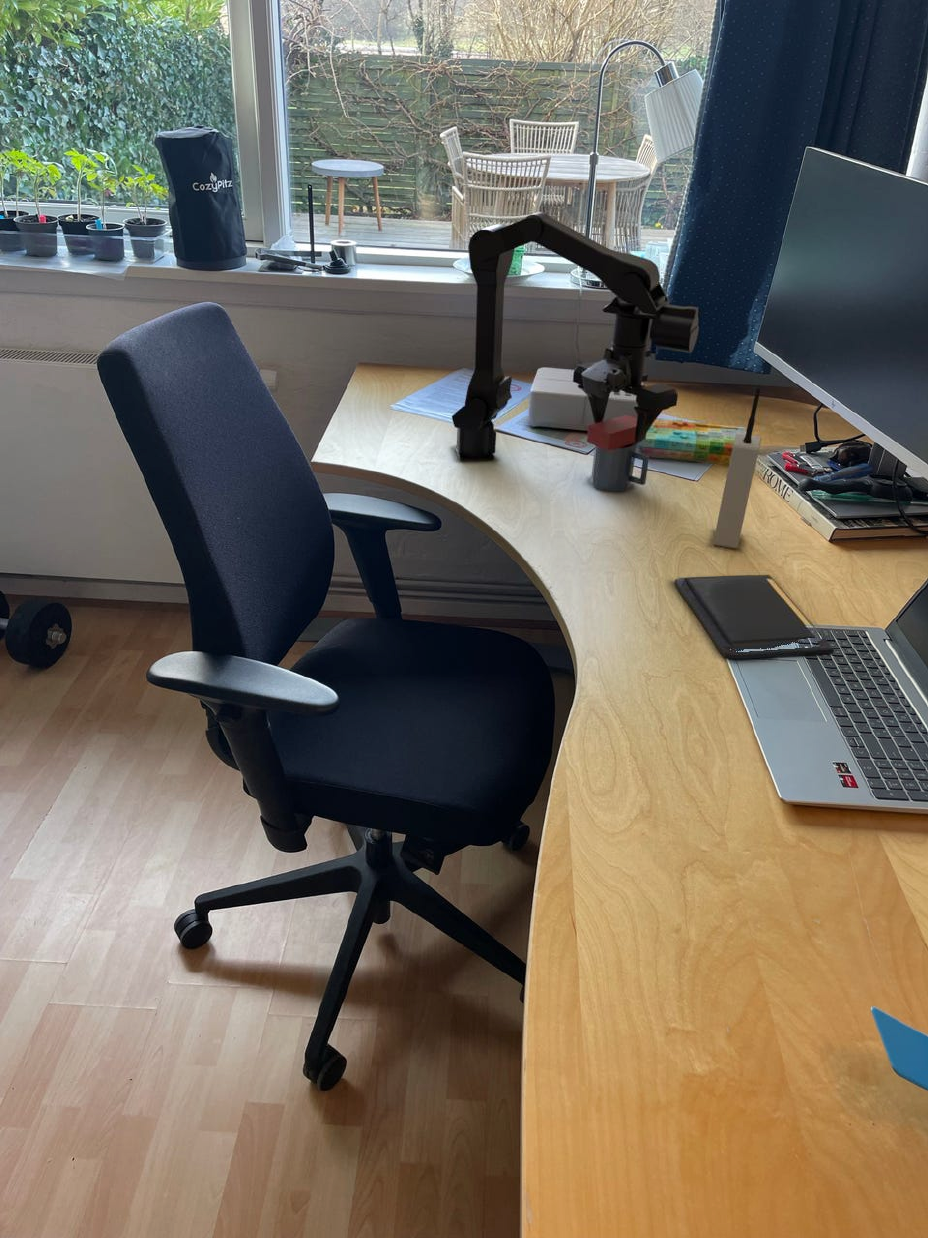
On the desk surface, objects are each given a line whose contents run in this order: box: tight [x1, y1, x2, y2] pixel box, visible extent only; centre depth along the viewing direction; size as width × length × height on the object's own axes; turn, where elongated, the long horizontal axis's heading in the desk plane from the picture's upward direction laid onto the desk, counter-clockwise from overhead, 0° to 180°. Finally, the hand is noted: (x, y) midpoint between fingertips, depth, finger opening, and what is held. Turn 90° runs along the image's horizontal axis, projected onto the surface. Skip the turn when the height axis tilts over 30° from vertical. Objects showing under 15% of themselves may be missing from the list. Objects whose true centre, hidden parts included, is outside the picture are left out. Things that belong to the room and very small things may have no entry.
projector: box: [527, 367, 644, 432], centre depth 188 cm, size 17×22×8 cm
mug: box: [590, 443, 650, 493], centre depth 160 cm, size 10×7×8 cm
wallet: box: [673, 574, 834, 660], centre depth 126 cm, size 20×2×15 cm
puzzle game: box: [640, 417, 747, 465], centre depth 175 cm, size 12×5×20 cm
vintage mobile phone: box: [712, 386, 762, 550], centre depth 139 cm, size 4×5×25 cm
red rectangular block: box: [586, 415, 647, 451], centre depth 158 cm, size 10×5×3 cm, turn 129°
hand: (617, 434), depth 158 cm, fingers open, 9 cm apart
